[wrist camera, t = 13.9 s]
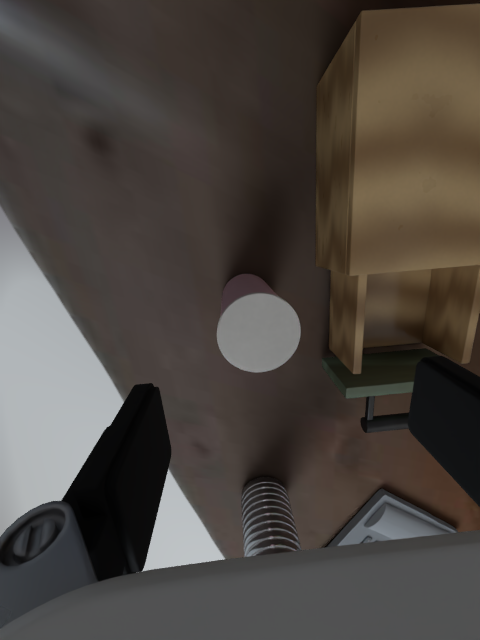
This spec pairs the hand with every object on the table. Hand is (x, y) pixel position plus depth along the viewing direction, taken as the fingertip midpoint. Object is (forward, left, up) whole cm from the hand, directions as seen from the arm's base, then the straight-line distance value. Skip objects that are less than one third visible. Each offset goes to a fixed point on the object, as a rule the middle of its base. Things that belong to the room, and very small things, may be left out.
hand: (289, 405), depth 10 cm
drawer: (+12, +11, -21) cm, 26 cm away
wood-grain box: (-2, +18, -22) cm, 28 cm away
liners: (+1, 0, -22) cm, 22 cm away
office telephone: (+50, -7, -22) cm, 55 cm away
